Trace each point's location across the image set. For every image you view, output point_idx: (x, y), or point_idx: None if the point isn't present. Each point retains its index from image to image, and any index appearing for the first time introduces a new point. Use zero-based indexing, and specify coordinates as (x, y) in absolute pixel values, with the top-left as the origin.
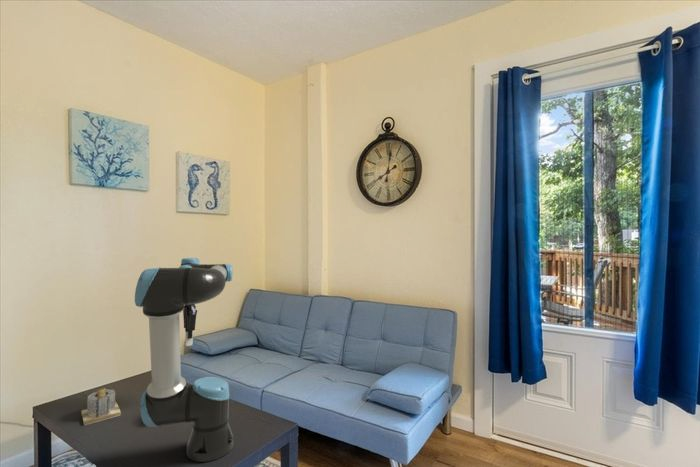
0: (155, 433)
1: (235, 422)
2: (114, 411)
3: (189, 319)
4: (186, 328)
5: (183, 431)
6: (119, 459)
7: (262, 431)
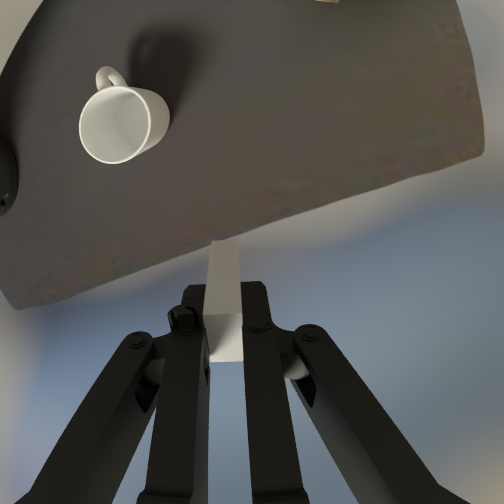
0: (82, 69)
1: (47, 241)
2: None
3: (80, 450)
4: (242, 338)
5: (56, 130)
6: (37, 15)
7: (10, 270)
